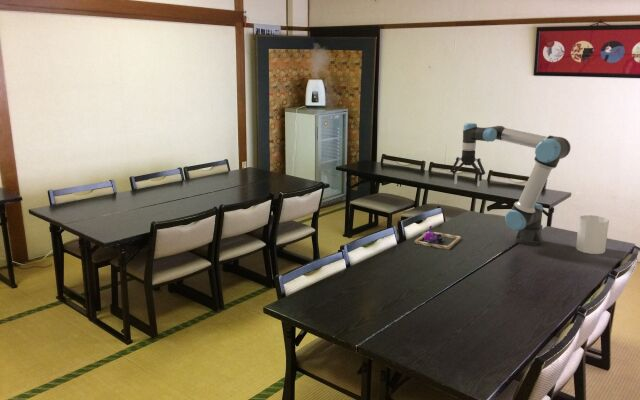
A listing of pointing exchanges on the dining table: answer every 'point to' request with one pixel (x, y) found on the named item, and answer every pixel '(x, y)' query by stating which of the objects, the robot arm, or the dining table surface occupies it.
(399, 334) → the dining table surface
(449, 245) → the pocket frame
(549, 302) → the dining table surface
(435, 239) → the toy
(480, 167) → the robot arm
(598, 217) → the container
